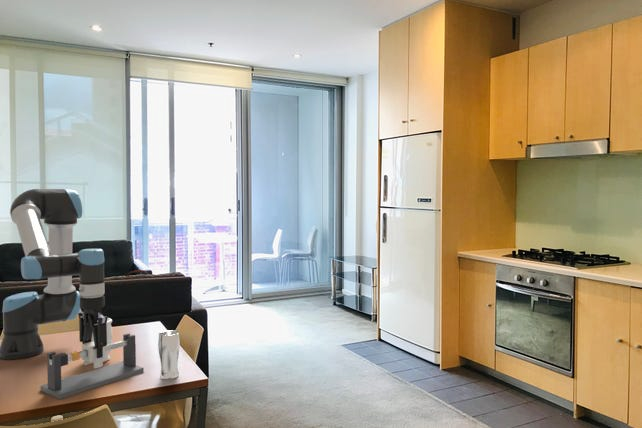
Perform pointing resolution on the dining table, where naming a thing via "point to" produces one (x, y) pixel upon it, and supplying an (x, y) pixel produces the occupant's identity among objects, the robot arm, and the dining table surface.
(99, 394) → the dining table surface
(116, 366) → the rod support stand
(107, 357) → the jar
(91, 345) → the sleeve
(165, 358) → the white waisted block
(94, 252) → the robot arm
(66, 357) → the guide rod
